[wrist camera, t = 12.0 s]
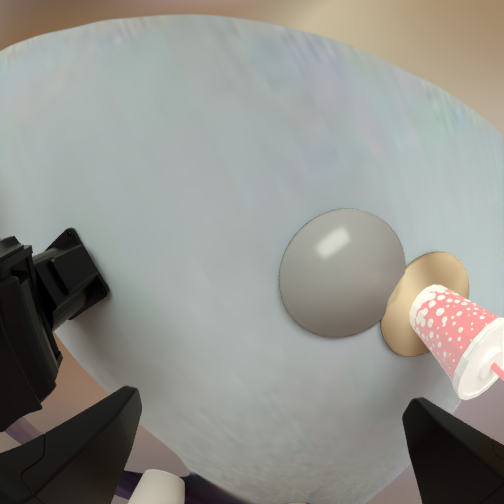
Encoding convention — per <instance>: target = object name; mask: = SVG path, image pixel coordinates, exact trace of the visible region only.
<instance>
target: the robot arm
mask: <svg viewBox="0 0 504 504" xmlns="http://www.w3.org/2000/svg"><path fill="white" fill-rule="evenodd" d="M69 233H71V236H70V234H69ZM32 253H33V251H32V245H25V246H24V245H21V243H19V242H18V240H17V239H16V237H15V236H10V237H7V238H4V239H1V240H0V432H3V431H5V430H6V429H7V428H8V427H9V426H10V425H12V424H13V423H14V422H15V421H16V420H18V419H19V418H21V417H23V416H25V415H26V414H28V413H31V412H35V411H38V410H41V409H42V406H41V402H42V401H43V400H45V399H46V397H48V396H49V395H50V394H51V393H52V391H53V390H54V389H55V387H56V382H55V380H56V377H57V373H58V369H59V366H60V364H61V361H62V359H63V357H62V354H61V352H60V351H59V350H58V347H57V344H56V342H55V339H54V336H53V333H52V332H53V331H55V330H56V329H57V328H58V327H59V326H60V325H62V324H63V323H64V322H65V321H66V320H67V319H68V320H72V319H73V318H75V317H76V316H78V315H79V314H81V313H82V312H84V311H85V310H86V309H88V308H89V307H91V306H92V305H94V304H95V303H97V302H98V301H100V300H101V299H103V298H104V297H106V296H107V295H108V294H109V292H110V291H109V288H108V286H107V284H106V283H105V281H104V280H103V278H102V277H101V275H100V273H99V272H98V270H97V268H96V267H95V265H94V263H93V262H92V260H91V258H90V256H89V255H88V253H87V251H86V249H85V248H84V246H83V244H82V242H81V241H80V239H79V237H78V235H77V233H76V231H75V230H74V229H73V228H68V229H66V230H65V231H64V232H63V233H62V234H61V235H60V236H59V237H58V238H57V239H56V240H55V241H54V242H53V243H52V244H51V245H50V246H49V247H48V248H47V249H46V250H45V251H44V252H42V253H40V254H38V255H35V256H33V257H32ZM102 289H104V291H105V292H103V291H102ZM141 412H142V403H141V399H140V394H139V391H138V389H137V388H134V387H130V386H124V387H122V388H120V389H119V390H117V391H116V392H114V393H112V394H111V395H109V396H108V397H106V398H104V399H103V400H101V401H99V402H98V403H96V404H95V405H93V406H91V407H90V408H88V409H86V410H85V411H83V412H81V413H79V414H78V415H76V416H74V417H73V418H71V419H69V420H68V421H66V422H64V423H62V424H61V425H59V426H57V427H55V428H53V429H52V430H50V431H48V432H46V433H45V434H43V435H41V436H39V437H37V438H35V439H33V440H31V441H29V442H27V443H25V444H23V445H21V446H19V447H16V448H13V449H11V450H8V451H5V452H3V453H0V504H111V501H112V499H113V496H114V494H115V491H116V488H117V486H118V483H119V481H120V478H121V475H122V473H123V470H124V467H125V465H126V463H127V460H128V457H129V455H130V452H131V450H132V446H133V442H134V439H135V435H136V431H137V427H138V423H139V420H140V416H141ZM402 420H403V425H404V430H405V435H406V440H407V446H408V451H409V455H410V459H411V462H412V465H413V469H414V473H415V476H416V480H417V484H418V487H419V491H420V496H421V500H422V504H504V445H503V444H501V443H499V442H497V441H495V440H494V439H491V438H490V437H488V436H487V435H485V434H483V433H481V432H480V431H478V430H476V429H474V428H473V427H471V426H470V425H468V424H466V423H464V422H463V421H461V420H459V419H458V418H456V417H454V416H453V415H451V414H450V413H448V412H446V411H445V410H443V409H441V408H440V407H438V406H436V405H435V404H433V403H432V402H430V401H428V400H427V399H425V398H423V397H419V398H414V399H412V400H411V401H410V403H409V405H408V407H407V408H406V410H405V412H404V414H403V417H402Z"/></svg>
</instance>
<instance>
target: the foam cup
mask: <svg viewBox="0 0 504 504" xmlns="http://www.w3.org/2000/svg"><path fill="white" fill-rule="evenodd" d="M184 486H185V483H184V481H183V480H182V479H181V478H179V477H178V476H176V475H173V474H171V473H169V472H165V471H162V470H156V469H148V470H146V471H145V472H144V474H143V476H142V478H141V480H140V481H139V483H138V485H137V487H136V489H135V491H134V493H133V494H132V496H131V498H130V500H129V502H128V504H184V498H185V487H184Z"/></svg>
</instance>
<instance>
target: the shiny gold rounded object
mask: <svg viewBox="0 0 504 504" xmlns="http://www.w3.org/2000/svg"><path fill="white" fill-rule="evenodd" d="M399 281H400V282H398V283H399V284H398V283H397V284H398V285H396V286H395V287H396V288H394V289H395V290H394V291H393V292H392V295H390V298H389V300H388V303H387V308H386V310H385V314H384V317H383V318H382V319H380V325H381V331H382V335H383V337H384V339H385V341H386V342H387V344H388V345H389V347H390V348H391V349H392V350H393V351H395V352H396V353H398V354H400V355H404V356H417V355H421V354H424V353H427V352H429V351H430V350H429V349H428V347H427V346H426V345H425V343H424V342H423V341H422V339H421V338H420V337H419V336H418V334H417V333H416V332H415V330H414V329H413V328H412V326H411V324H410V310H411V307H412V304H413V302H414V301H415V299H416V298H417V296H418V295H419V294H420V293H421V292H422V291H423V290H424V289H425V288H427V287H429V286H432V285H442V286H444V287H446V288H447V289H449V290H451V291H453V292H455V293H457V294H459V295H460V296H462V297H464V298H466V299H468V297H469V279H468V274H467V271H466V269H465V267H464V265H463V264H462V263H461V261H460V260H458V259H457V258H456V257H454V256H452V255H450V254H448V253H445V252H431V253H427V254H424V255H422V256H420V257H418V258H416V259H415V260H414V261H412V262H411V263H409V264H408V265H407V266H406V267H405V274H404V275H403V276H402V278H401V279H400V280H399ZM398 286H399V287H398ZM397 291H398V292H397ZM398 294H399V295H398ZM393 299H394V300H395V301H394V300H393ZM396 299H397V300H396Z"/></svg>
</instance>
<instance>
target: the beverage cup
mask: <svg viewBox="0 0 504 504" xmlns="http://www.w3.org/2000/svg"><path fill="white" fill-rule="evenodd" d="M410 324H411V326H412V328H413V329H414V330H415V332H416V333H417V334H418V336H419V337H420V338H421V339H422V341H423V342H424V343H425V345H426V346H427V347H428V349H429V350H430V351H431V353H432V354H433V355H434V357H435V358H436V359H437V361H438V362H439V363H440V365H441V366H442V368H443V369H444V370H445V372H446V373H447V375H448V376H449V377H450V379H451V380H452V385H453V388H454V391H455V392H457V395H458V397H459V398H460V399H464V400H468V399H471V398H474V397H477V396H478V395H480V394H481V393H483V392H484V391H485V390H487V389H488V388H489V387H490V386H491V385H492V384H493V383H494V382H495V381H496V380H497V379H498V378H499V377H500V378H501V379H502V380H503V381H504V318H499V317H497V316H496V315H494V314H492V313H491V312H489V311H487V310H485V309H484V308H482V307H480V306H478V305H477V304H475V303H473V302H471V301H469V300H468V299H466V298H464V297H462V296H460V295H459V294H457V293H455V292H453V291H451V290H449V289H447V288H446V287H444V286H442V285H432V286H429V287H427V288H425V289H424V290H423V291H422V292H421V293H420V294H419V295H418V296H417V298H416V299H415V301H414V302H413V304H412V307H411V310H410Z"/></svg>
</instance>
